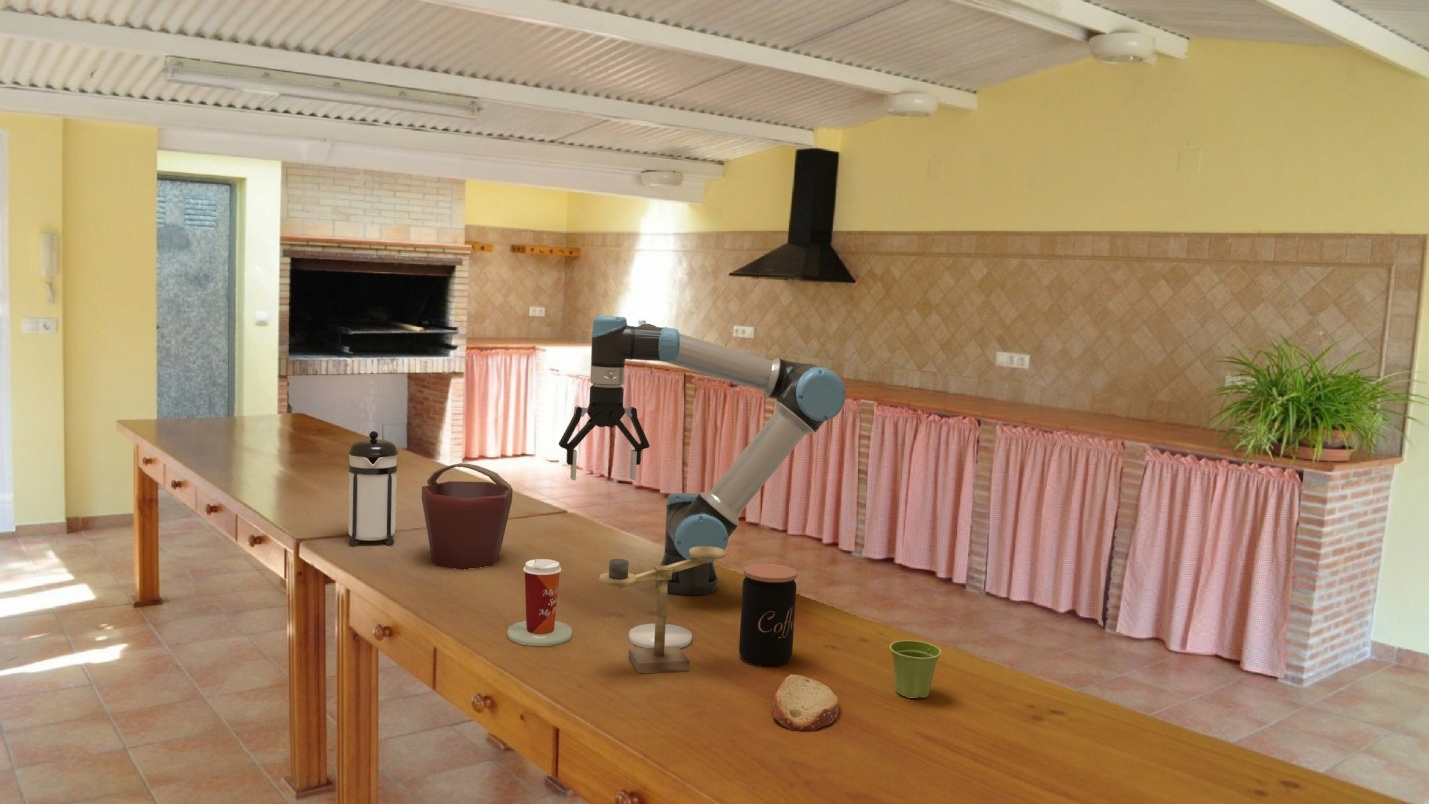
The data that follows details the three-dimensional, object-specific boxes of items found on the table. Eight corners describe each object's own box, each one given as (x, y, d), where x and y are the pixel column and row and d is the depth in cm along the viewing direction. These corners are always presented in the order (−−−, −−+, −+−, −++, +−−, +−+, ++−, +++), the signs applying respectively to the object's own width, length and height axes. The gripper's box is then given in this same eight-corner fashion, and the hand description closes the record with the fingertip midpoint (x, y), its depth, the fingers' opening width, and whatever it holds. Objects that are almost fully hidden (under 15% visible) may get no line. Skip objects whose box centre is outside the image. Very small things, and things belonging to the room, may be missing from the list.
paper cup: (551, 637, 210) (553, 570, 208) (515, 633, 211) (517, 566, 210) (564, 625, 217) (567, 560, 216) (529, 621, 219) (532, 556, 217)
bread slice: (801, 682, 198) (802, 662, 197) (872, 715, 184) (873, 694, 184) (728, 701, 187) (730, 681, 186) (798, 738, 173) (799, 716, 172)
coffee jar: (755, 670, 201) (760, 580, 199) (728, 652, 211) (733, 565, 209) (802, 664, 206) (807, 575, 204) (774, 646, 216) (779, 561, 214)
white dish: (681, 627, 224) (682, 622, 224) (699, 648, 212) (699, 642, 212) (622, 630, 220) (622, 625, 220) (636, 651, 208) (637, 646, 208)
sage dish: (566, 623, 223) (566, 618, 222) (576, 644, 210) (577, 638, 210) (504, 626, 219) (504, 621, 219) (511, 648, 206) (511, 642, 206)
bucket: (528, 564, 268) (532, 467, 265) (456, 579, 251) (459, 476, 248) (470, 545, 283) (472, 454, 280) (398, 558, 266) (401, 461, 264)
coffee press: (415, 540, 285) (417, 431, 282) (367, 551, 271) (369, 437, 268) (372, 529, 294) (374, 424, 291) (324, 539, 281) (326, 429, 277)
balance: (712, 653, 209) (718, 545, 207) (724, 668, 202) (731, 555, 199) (592, 660, 202) (596, 548, 199) (600, 676, 194) (605, 559, 192)
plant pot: (927, 708, 188) (930, 661, 187) (878, 695, 192) (881, 649, 192) (945, 692, 195) (948, 647, 194) (897, 680, 200) (901, 636, 199)
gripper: (553, 385, 225) (550, 482, 228) (665, 388, 233) (660, 481, 235) (548, 382, 233) (545, 476, 235) (656, 384, 240) (652, 475, 242)
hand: (603, 479), depth 235 cm, fingers open, 13 cm apart
